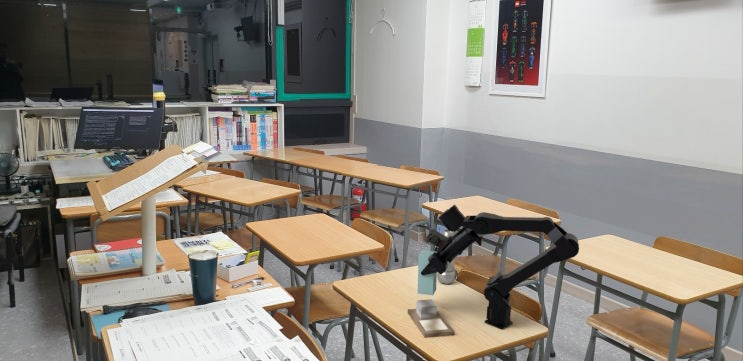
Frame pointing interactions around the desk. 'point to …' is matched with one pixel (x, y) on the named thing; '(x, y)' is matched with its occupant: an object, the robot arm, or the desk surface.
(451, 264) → the silver ribbed bottle
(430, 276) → the pillar block
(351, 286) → the desk surface
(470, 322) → the desk surface
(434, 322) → the base plate
